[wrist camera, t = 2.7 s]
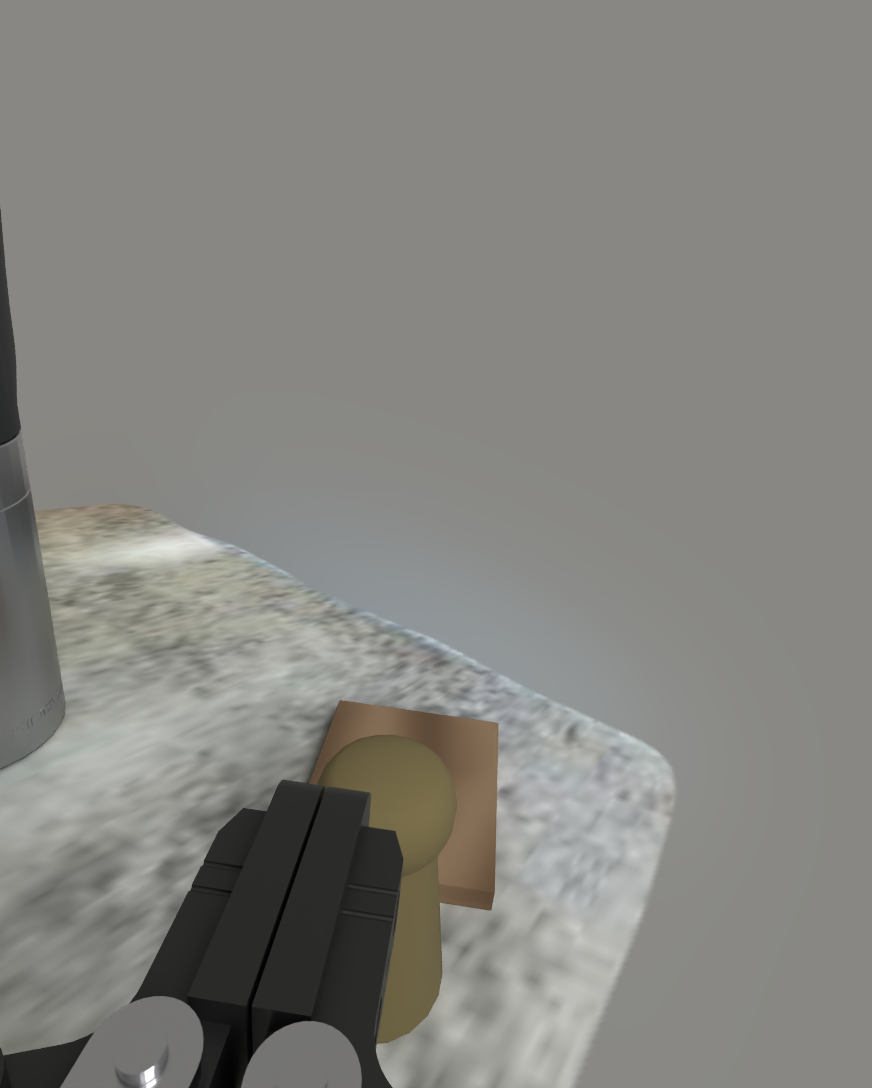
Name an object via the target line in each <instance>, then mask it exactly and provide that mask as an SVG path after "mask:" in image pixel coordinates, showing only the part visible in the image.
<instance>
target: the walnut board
mask: <svg viewBox="0 0 872 1088" xmlns="http://www.w3.org/2000/svg"><path fill="white" fill-rule="evenodd" d="M373 735H397V736H402V737H407V738H411V739H413V740H415V741H417V742H420V743H422V744H424V745H426V746H427V747H429V748H430V749H431V750H432V751H434V752H435V753H436V754H437V755H438V756H439V757H440V759H441V760H442V762H443V763H444V765H445V766H446V768H447V769H448V771H449V772H450V774H451V775H452V778H453V783H454V788H455V792H456V798H457V809H456V815H455V820H454V825H453V830H452V834H451V836H450V838H449V839H448V841H447V843H446V845H445V846H444V848H443V849H442V851H441V852H440V854H439V855H438V878H439V902H442V903H448V904H454V905H461V906H467V907H473V908H480V909H486V910H491V908H492V903H493V898H494V893H495V851H496V807H497V764H498V723H495V722H488V721H481V720H474V719H467V718H460V717H453V716H446V715H439V714H432V713H425V712H418V711H411V710H404V709H397V708H390V707H383V706H376V705H369V704H362V703H356V702H349V701H342V700H340V701H339V704H338V706H337V709H336V712H335V715H334V717H333V720H332V723H331V725H330V728H329V731H328V733H327V736H326V739H325V741H324V744H323V747H322V749H321V752H320V755H319V758H318V760H317V763H316V766H315V768H314V771H313V774H312V776H311V779H310V782H309V784H315V785H317V783H318V780H319V778H320V776H321V774H322V772H323V769H324V767H325V765H326V764H327V763H328V762H329V761H330V760H331V759H332V758H333V757H334V756H335V755H336V754H337V753H338V752H339V751H340V750H341V749H342V748H343V747H344V746H346V745H348V744H350V743H352V742H354V741H356V740H357V739H361V738H365V737H369V736H373Z"/></svg>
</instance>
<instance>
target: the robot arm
mask: <svg viewBox="0 0 872 1088" xmlns="http://www.w3.org/2000/svg"><path fill="white" fill-rule="evenodd" d="M16 386H17V385H16V355H15V344H14V336H13V328H12V321H11V314H10V307H9V297H8V288H7V279H6V268H5V257H4V245H3V235H2V223H1V211H0V768H3V767H5V766H7V765H9V764H11V763H13V762H15V761H17V760H19V759H21V758H23V757H25V756H26V755H28V754H29V753H31V752H32V751H34V750H35V749H37V748H38V747H40V746H41V745H42V744H43V743H44V742H45V741H46V740H47V739H49V738H50V737H51V736H52V735H53V733H54V732H55V731H56V729H57V728H58V727H59V725H60V724H61V722H62V719H63V717H64V714H65V698H64V692H63V686H62V680H61V674H60V667H59V661H58V655H57V647H56V641H55V635H54V629H53V623H52V616H51V610H50V604H49V598H48V592H47V586H46V580H45V574H44V567H43V561H42V555H41V549H40V543H39V537H38V531H37V525H36V518H35V512H34V506H33V500H32V494H31V488H30V483H29V477H28V471H27V465H26V458H25V452H24V446H23V439H22V433H21V425H20V419H19V413H18V406H17V393H16V392H17V387H16ZM370 805H371V793H370V792H363V791H357V790H350V789H343V788H336V787H330V786H328V787H327V788H326V787H325V786H321V785H315V784H308V783H301V782H295V781H288V780H282V781H281V782H280V783H279V785H278V787H277V789H276V791H275V794H274V796H273V798H272V801H271V803H270V805H269V807H268V810H267V812H266V811H260V810H253V809H246V808H243V809H242V810H241V811H240V812H239V813H238V814H237V815H236V816H234V817H233V818H232V819H231V820H230V821H229V822H228V823H227V824H226V825H225V826H224V827H223V828H222V829H220V830H219V832H218V834H217V836H216V838H215V840H214V842H213V844H212V846H211V848H210V850H209V852H208V854H207V856H206V858H205V860H204V864H203V866H201V867H200V869H199V871H198V873H197V875H196V877H195V879H194V881H193V883H192V888H191V890H190V891H188V893H187V895H186V897H185V899H184V901H183V903H182V905H181V907H180V909H179V911H178V913H177V915H176V917H175V919H174V921H173V923H172V925H171V927H170V929H169V931H168V933H167V935H166V937H165V939H164V941H163V943H162V945H161V947H160V949H159V951H158V953H157V955H156V957H155V959H154V961H153V963H152V965H151V967H150V969H149V971H148V973H147V975H146V977H145V979H144V981H143V983H142V985H141V987H140V989H139V990H138V992H137V994H136V995H135V997H134V998H133V999H132V1001H131V1002H130V1003H129V1004H128V1005H126V1006H124V1007H122V1008H121V1009H119V1010H118V1011H116V1012H115V1013H113V1014H112V1015H111V1016H110V1017H109V1018H108V1019H106V1020H105V1021H104V1022H103V1023H102V1024H101V1025H100V1027H99V1028H98V1029H97V1030H96V1031H95V1032H94V1033H92V1034H90V1035H88V1036H86V1037H84V1038H81V1039H79V1040H76V1041H73V1042H69V1043H66V1044H62V1045H57V1046H51V1047H46V1048H41V1049H36V1050H30V1051H25V1052H20V1053H15V1054H9V1055H4V1056H3V1054H2V1050H1V1048H0V1088H392V1086H391V1085H390V1084H389V1082H388V1081H387V1079H386V1078H385V1076H384V1074H383V1072H382V1070H381V1068H380V1065H379V1062H378V1059H377V1055H376V1045H377V1039H378V1033H379V1027H380V1021H381V1015H382V1009H383V1003H384V997H385V991H386V984H387V979H388V973H389V967H390V961H391V955H392V949H393V943H394V937H395V931H396V925H397V917H398V907H399V898H400V889H401V879H402V870H403V860H404V859H403V855H402V852H401V848H400V845H399V841H398V838H397V834H396V831H393V830H386V829H380V828H373V827H369V819H370Z"/></svg>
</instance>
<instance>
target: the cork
mask: <svg viewBox="0 0 872 1088" xmlns="http://www.w3.org/2000/svg"><path fill="white" fill-rule="evenodd" d="M317 785H321V786H325V787H326V788H327V787H328V786H330V787H336V788H343V789H350V790H357V791H363V792H370V793H371V805H370V819H369V827H373V828H380V829H386V830H393V831H396V834H397V838H398V841H399V845H400V848H401V852H402V855H403V859H404V860H403V870H402V879H401V889H400V898H399V907H398V917H397V925H396V931H395V937H394V943H393V949H392V955H391V961H390V967H389V973H388V979H387V984H386V991H385V997H384V1003H383V1009H382V1015H381V1021H380V1027H379V1033H378V1039H377V1044H378V1043H388V1042H390V1041H392V1040H394V1039H396V1038H399V1037H401V1036H403V1035H405V1034H407V1033H410V1032H411V1031H412V1030H413V1029H414V1028H415V1027H416V1026H417V1025H418V1024H419V1023H420V1022H421V1021H422V1020H423V1019H425V1018H426V1017H427V1016H428V1014H429V1012H430V1010H431V1008H432V1006H433V1004H434V1003H435V1001H436V999H437V997H438V995H439V989H440V984H441V978H442V951H441V927H440V903H439V878H438V855H439V854H440V852H441V851H442V849H443V848H444V846H445V845H446V843H447V841H448V839H449V838H450V836H451V834H452V830H453V825H454V820H455V815H456V809H457V798H456V792H455V788H454V783H453V778H452V775H451V774H450V772H449V771H448V769H447V768H446V766H445V765H444V763H443V762H442V760H441V759H440V757H439V756H438V755H437V754H436V753H435V752H434V751H432V750H431V749H430V748H429V747H427V746H426V745H424V744H422V743H420V742H417V741H415V740H413V739H411V738H407V737H402V736H397V735H373V736H369V737H365V738H361V739H357V740H356V741H354V742H352V743H350V744H348V745H346V746H344V747H343V748H342V749H341V750H340V751H339V752H338V753H337V754H336V755H335V756H334V757H333V758H332V759H331V760H330V761H329V762H328V763H327V764H326V765H325V767H324V769H323V772H322V774H321V776H320V778H319V780H318V783H317Z"/></svg>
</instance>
